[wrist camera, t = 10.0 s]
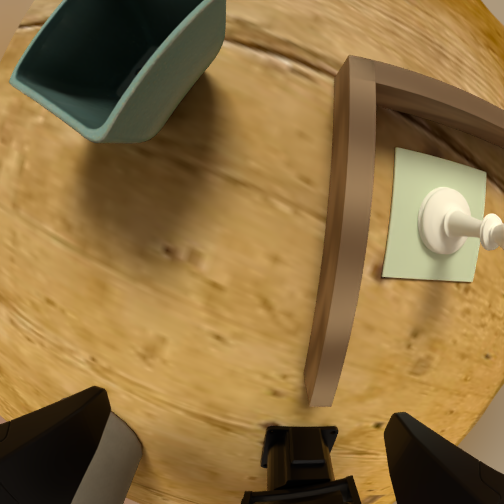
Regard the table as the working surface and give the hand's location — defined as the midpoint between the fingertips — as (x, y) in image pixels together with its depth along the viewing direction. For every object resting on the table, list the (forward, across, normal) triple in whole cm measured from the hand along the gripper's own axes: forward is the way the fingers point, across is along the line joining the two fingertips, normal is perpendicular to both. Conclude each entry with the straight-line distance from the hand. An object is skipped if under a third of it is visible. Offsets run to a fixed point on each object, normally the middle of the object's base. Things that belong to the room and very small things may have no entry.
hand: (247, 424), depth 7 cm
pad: (+12, -13, -6) cm, 19 cm away
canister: (+13, +16, +19) cm, 28 cm away
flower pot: (+13, +8, -14) cm, 21 cm away
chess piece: (+12, -13, -6) cm, 19 cm away
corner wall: (+12, -15, -4) cm, 20 cm away
